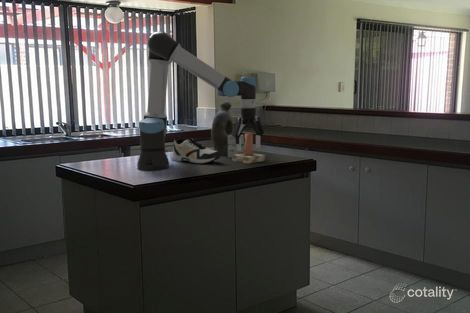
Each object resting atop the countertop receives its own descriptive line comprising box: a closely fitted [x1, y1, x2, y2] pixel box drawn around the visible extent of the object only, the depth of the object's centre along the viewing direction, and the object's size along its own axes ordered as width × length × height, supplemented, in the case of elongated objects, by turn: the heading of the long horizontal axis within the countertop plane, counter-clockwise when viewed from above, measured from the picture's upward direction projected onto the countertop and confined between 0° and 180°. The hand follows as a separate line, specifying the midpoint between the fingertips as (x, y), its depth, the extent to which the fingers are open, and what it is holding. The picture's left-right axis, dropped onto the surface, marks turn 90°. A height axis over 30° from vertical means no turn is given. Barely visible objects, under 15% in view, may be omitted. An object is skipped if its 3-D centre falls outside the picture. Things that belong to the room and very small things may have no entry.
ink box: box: [227, 134, 245, 158], centre depth 261 cm, size 9×5×12 cm, turn 84°
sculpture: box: [210, 100, 235, 156], centre depth 271 cm, size 11×14×30 cm
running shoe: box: [171, 137, 221, 165], centre depth 246 cm, size 11×30×12 cm, turn 59°
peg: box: [244, 133, 254, 156], centre depth 246 cm, size 4×4×14 cm
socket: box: [231, 152, 266, 164], centre depth 247 cm, size 12×12×3 cm
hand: (248, 149), depth 247 cm, fingers open, 12 cm apart
